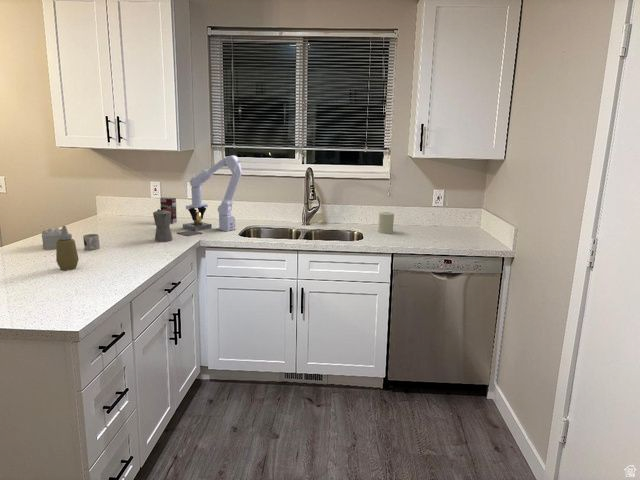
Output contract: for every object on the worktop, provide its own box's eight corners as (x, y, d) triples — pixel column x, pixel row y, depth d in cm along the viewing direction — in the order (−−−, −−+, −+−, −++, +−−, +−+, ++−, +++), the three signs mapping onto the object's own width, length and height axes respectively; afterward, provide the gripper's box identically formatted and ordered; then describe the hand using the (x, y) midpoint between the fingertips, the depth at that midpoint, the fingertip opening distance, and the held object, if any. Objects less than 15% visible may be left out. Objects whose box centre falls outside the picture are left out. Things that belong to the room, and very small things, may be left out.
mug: (85, 247, 220) (84, 234, 218) (100, 246, 222) (99, 233, 221) (82, 252, 211) (81, 238, 209) (98, 251, 213) (97, 238, 211)
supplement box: (161, 222, 284) (159, 198, 280) (165, 221, 288) (164, 197, 285) (172, 224, 281) (171, 198, 278) (177, 222, 286) (176, 197, 282)
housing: (211, 228, 272) (211, 224, 271) (195, 231, 263) (195, 226, 262) (199, 225, 279) (199, 221, 278) (182, 228, 270) (182, 224, 269)
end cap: (203, 225, 271) (202, 212, 269) (197, 226, 268) (196, 213, 266) (198, 224, 274) (198, 211, 272) (192, 225, 270) (192, 212, 269)
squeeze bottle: (74, 264, 191) (70, 223, 187) (82, 268, 186) (78, 226, 182) (53, 268, 185) (49, 225, 181) (62, 272, 180) (57, 228, 176)
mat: (202, 233, 257) (202, 232, 257) (187, 236, 249) (187, 235, 249) (191, 230, 263) (191, 230, 263) (176, 233, 255) (176, 232, 255)
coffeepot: (176, 241, 236) (174, 207, 232) (157, 243, 231) (155, 209, 227) (168, 236, 249) (166, 203, 244) (150, 237, 243) (148, 204, 239)
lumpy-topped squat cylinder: (43, 250, 212) (41, 232, 210) (42, 244, 223) (40, 227, 221) (68, 248, 218) (66, 230, 216) (66, 242, 228) (64, 226, 226)
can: (392, 230, 278) (393, 211, 276) (393, 233, 269) (394, 214, 267) (377, 230, 279) (378, 211, 276) (378, 233, 270) (379, 213, 268)
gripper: (202, 195, 275) (203, 217, 278) (182, 197, 264) (183, 220, 267) (209, 196, 271) (210, 218, 274) (189, 199, 259) (190, 222, 263)
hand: (197, 219), depth 270 cm, fingers closed on end cap, 4 cm apart
